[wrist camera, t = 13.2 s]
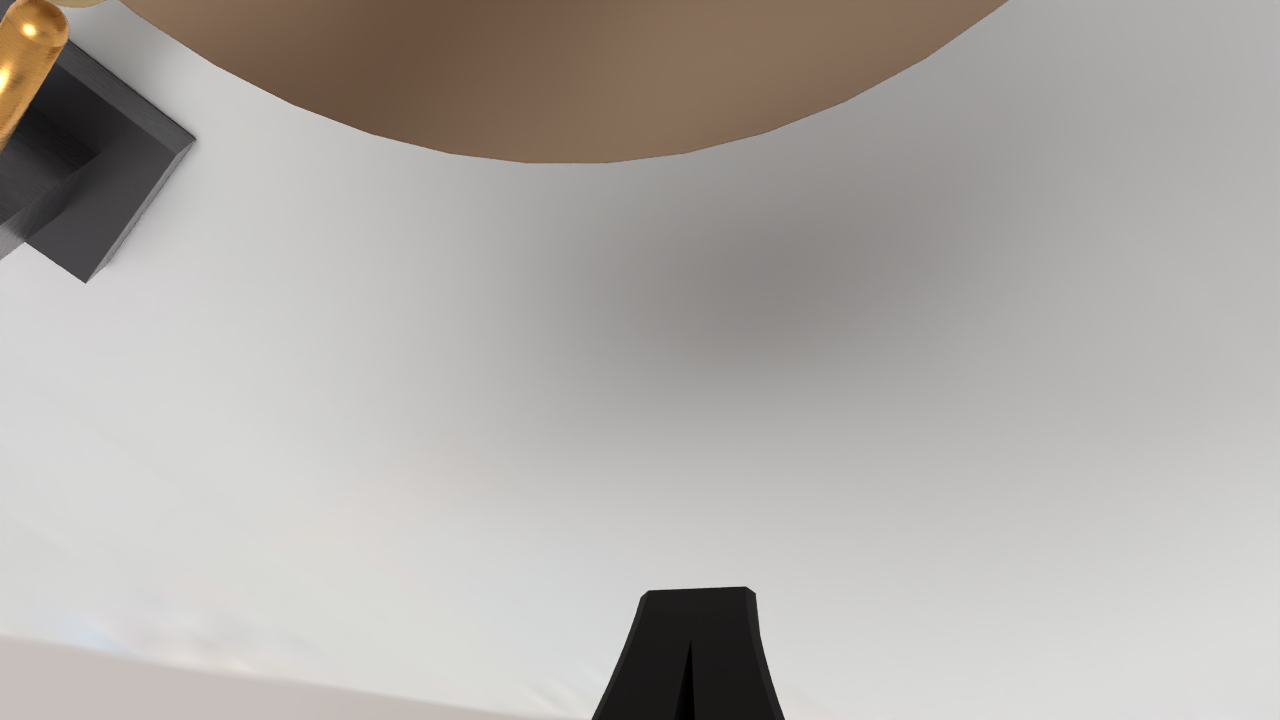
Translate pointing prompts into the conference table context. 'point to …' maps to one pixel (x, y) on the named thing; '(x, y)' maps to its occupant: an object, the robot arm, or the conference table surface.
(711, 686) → the robot arm
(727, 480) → the conference table surface
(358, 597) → the conference table surface
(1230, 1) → the conference table surface
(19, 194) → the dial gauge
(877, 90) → the conference table surface
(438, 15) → the platter
